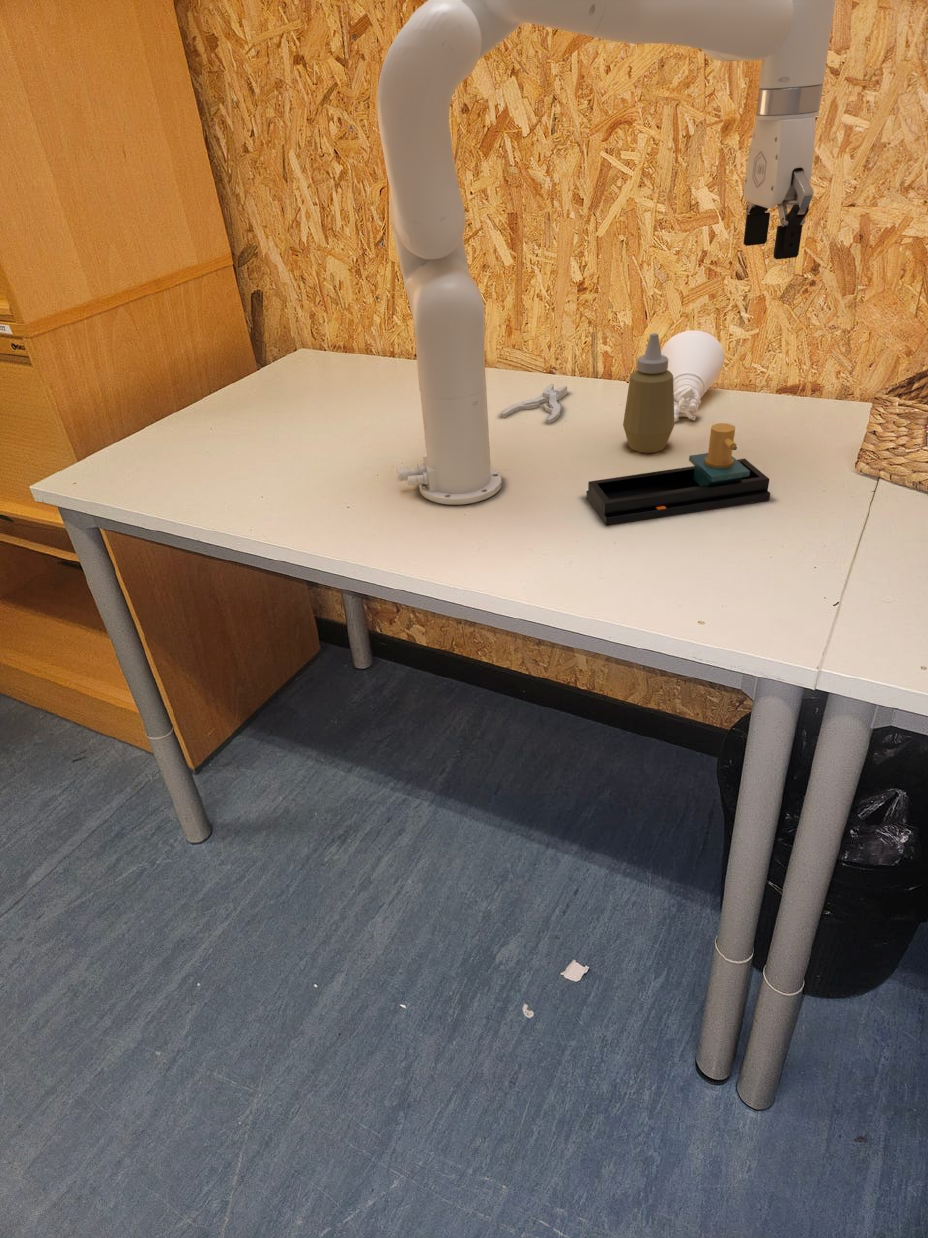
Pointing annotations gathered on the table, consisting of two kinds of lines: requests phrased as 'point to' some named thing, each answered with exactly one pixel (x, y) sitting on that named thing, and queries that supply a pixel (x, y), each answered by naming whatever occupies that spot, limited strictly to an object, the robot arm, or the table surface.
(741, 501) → the black rectangular tray
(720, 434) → the nozzle
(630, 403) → the squeeze bottle
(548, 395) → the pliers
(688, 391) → the rocket engine
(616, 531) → the table surface
